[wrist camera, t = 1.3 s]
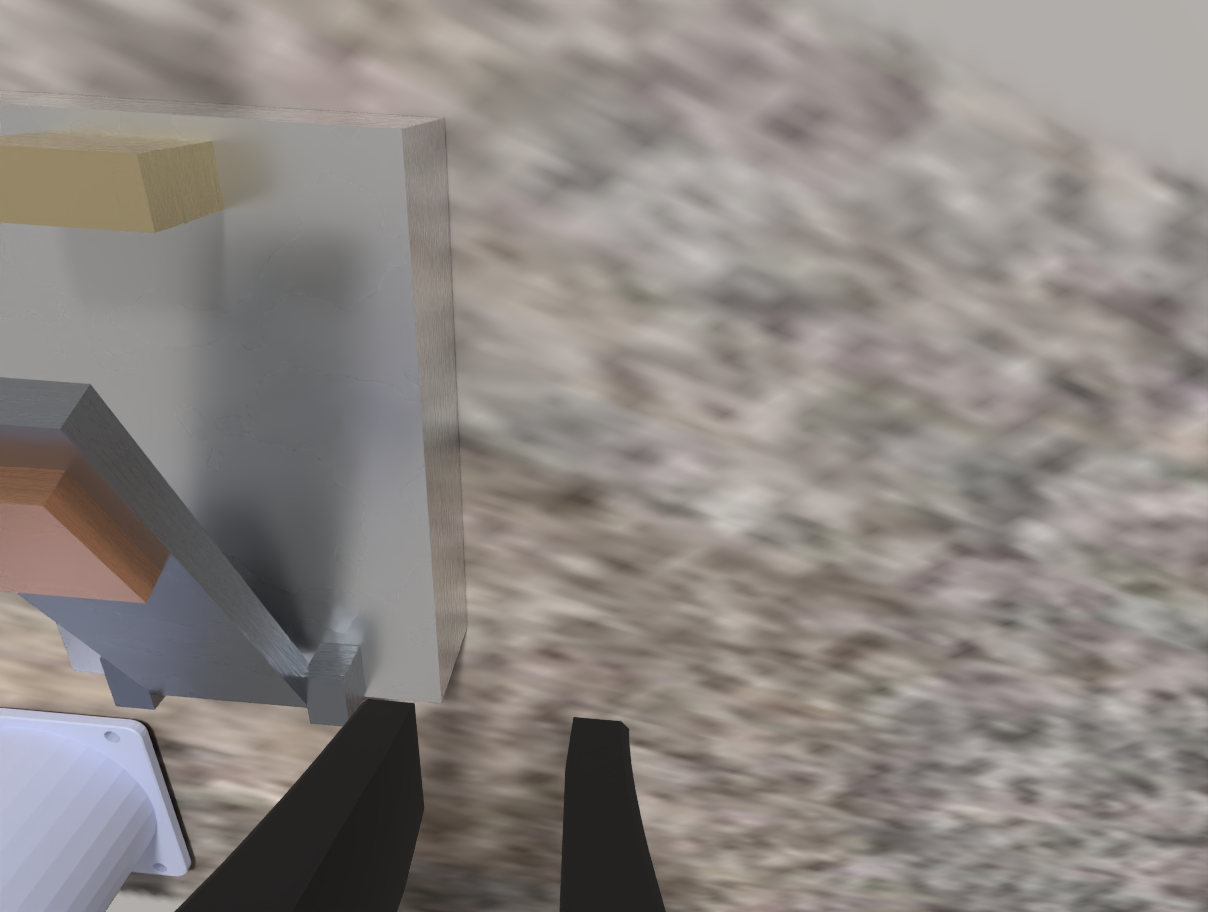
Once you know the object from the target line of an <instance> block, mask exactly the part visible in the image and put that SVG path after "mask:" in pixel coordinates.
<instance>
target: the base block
mask: <svg viewBox="0 0 1208 912" xmlns="http://www.w3.org/2000/svg"><path fill="white" fill-rule="evenodd" d="M0 377H5V378H18V379H31V380H45V381H58V382H71V383H85V384H91V385H92V387H93V388H94V389H95V390H96V392H97V393H98V394H99V396H100V397H101V398H102V399H103V401H104V402H105V403H106V404H107V406H108V407H109V408H110V410H111V411H112V412H113V413H114V415H115V416H116V417H117V419H118V420H119V421H120V422H121V424H122V425H123V426H124V428H125V429H126V430H127V431H128V433H129V434H130V435H131V436H132V438H133V439H134V440H135V442H136V443H137V444H138V445H139V447H140V448H141V449H142V451H143V452H144V453H145V454H146V456H147V457H148V458H149V459H150V461H151V462H152V463H153V465H154V466H155V467H156V468H157V470H158V471H159V472H160V474H161V475H162V476H163V477H164V479H165V480H166V481H167V483H168V484H169V485H170V486H171V488H172V489H173V490H174V491H175V493H176V494H177V495H178V497H179V498H180V499H181V500H182V502H183V503H184V504H185V506H186V507H187V508H188V509H189V511H190V512H191V513H192V515H193V516H194V517H195V518H196V520H197V521H198V522H199V523H200V525H201V526H202V527H203V529H204V530H205V531H206V532H207V534H208V535H209V536H210V538H211V539H212V540H213V541H214V543H215V544H216V545H217V546H218V548H219V549H220V550H221V552H222V553H223V554H224V555H225V557H226V558H227V559H228V561H229V562H230V563H231V564H232V566H233V567H234V568H235V570H236V571H237V572H238V573H239V575H240V576H241V577H242V578H243V580H244V581H245V582H246V584H247V585H248V586H249V587H250V589H251V590H252V591H253V593H254V594H255V595H256V596H257V598H258V599H259V600H260V602H261V603H262V604H263V605H264V607H265V608H266V609H267V610H268V612H269V613H270V614H271V616H272V617H273V618H274V619H275V621H276V622H277V623H278V625H279V626H280V627H281V628H282V630H283V631H284V632H285V633H286V635H287V636H288V637H289V639H290V640H291V641H292V642H293V644H294V645H295V646H296V648H297V649H298V650H299V651H300V653H301V654H302V655H303V657H304V658H305V659H306V660H307V662H308V663H309V664H308V666H307V668H306V669H305V671H304V673H303V675H302V681H303V686H304V692H305V697H306V702H307V708H308V713H309V718H310V723H311V724H322V725H333V726H344V725H345V723H346V722H347V721H348V720H349V718H350V717H351V716H352V715H353V713H354V712H355V711H356V710H357V709H358V707H359V706H360V704H361V702H362V699H363V697H375V698H386V699H398V700H409V701H421V702H432V703H442V700H443V697H444V694H445V691H446V688H447V685H448V682H449V679H450V677H451V674H452V671H453V668H454V665H455V662H456V659H457V656H458V653H459V650H460V647H461V644H462V641H463V638H464V635H465V632H466V629H467V615H466V592H465V570H464V547H463V524H462V502H461V479H460V456H459V434H458V411H457V388H456V366H455V343H454V320H453V298H452V275H451V252H450V230H449V207H448V184H447V162H446V139H445V118H436V117H420V116H404V115H388V114H372V113H356V112H340V111H324V110H308V109H292V108H276V107H260V106H244V105H227V104H211V103H195V102H179V101H163V100H147V99H131V98H115V97H99V96H83V95H67V94H51V93H35V92H19V91H3V90H0ZM56 624H57V627H58V630H59V632H60V635H61V638H62V640H63V643H64V645H65V648H66V651H67V653H68V656H69V659H70V661H71V664H72V667H73V669H74V671H78V672H90V673H101V674H105V676H106V679H107V682H108V685H109V688H110V690H111V693H112V696H113V699H114V702H115V705H116V706H119V707H131V708H142V709H153V710H155V709H156V707H157V706H158V705H159V703H160V702H161V701H162V700H163V698H164V697H165V696H166V695H157V694H151V693H150V692H149V691H147V690H146V689H145V688H143V687H142V686H141V685H139V684H138V683H137V682H135V681H134V680H133V679H131V678H130V677H129V676H127V675H126V674H125V673H123V672H122V671H121V670H119V669H118V668H117V667H115V666H114V665H113V664H111V663H110V662H109V661H107V660H106V659H105V658H103V657H102V656H101V655H99V654H98V653H96V652H95V651H94V650H92V649H91V648H90V647H88V646H87V645H86V644H84V643H83V642H82V641H80V640H79V639H78V638H76V637H75V636H74V635H72V634H71V633H70V632H68V631H67V630H66V629H64V628H63V627H62V626H60V625H59V624H58V623H56Z"/></svg>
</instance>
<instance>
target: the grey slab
mask: <svg viewBox="0 0 1208 912" xmlns="http://www.w3.org/2000/svg"><path fill="white" fill-rule="evenodd" d="M0 591H4V592H16V593H17V594H19V595H20V596H21V597H23V598H24V599H25V600H27V601H28V602H29V603H31V604H32V605H33V606H35V607H36V608H37V609H39V610H40V611H41V612H43V613H44V614H46V615H47V616H48V617H50V618H51V619H52V620H54V621H55V622H56V623H58V624H59V625H60V626H62V627H63V628H64V629H66V630H67V631H68V632H70V633H71V634H72V635H74V636H75V637H76V638H78V639H79V640H80V641H82V642H83V643H84V644H86V645H87V646H88V647H90V648H91V649H92V650H94V651H95V652H96V653H98V654H99V655H101V656H102V657H103V658H105V659H106V660H107V661H109V662H110V663H111V664H113V665H114V666H115V667H117V668H118V669H119V670H121V671H122V672H123V673H125V674H126V675H127V676H129V677H130V678H131V679H133V680H134V681H135V682H137V683H138V684H139V685H141V686H142V687H143V688H145V689H146V690H147V691H149V692H150V693H151V694H157V695H169V696H180V697H191V698H203V699H214V700H225V701H237V702H248V703H259V704H271V705H282V706H293V707H305V708H307V702H306V697H305V692H304V686H303V681H302V675H303V673H304V671H305V669H306V668H307V666H308V664H309V663H308V662H307V660H306V659H305V658H304V657H303V655H302V654H301V653H300V651H299V650H298V649H297V648H296V646H295V645H294V644H293V642H292V641H291V640H290V639H289V637H288V636H287V635H286V633H285V632H284V631H283V630H282V628H281V627H280V626H279V625H278V623H277V622H276V621H275V619H274V618H273V617H272V616H271V614H270V613H269V612H268V610H267V609H266V608H265V607H264V605H263V604H262V603H261V602H260V600H259V599H258V598H257V596H256V595H255V594H254V593H253V591H252V590H251V589H250V587H249V586H248V585H247V584H246V582H245V581H244V580H243V578H242V577H241V576H240V575H239V573H238V572H237V571H236V570H235V568H234V567H233V566H232V564H231V563H230V562H229V561H228V559H227V558H226V557H225V555H224V554H223V553H222V552H221V550H220V549H219V548H218V546H217V545H216V544H215V543H214V541H213V540H212V539H211V538H210V536H209V535H208V534H207V532H206V531H205V530H204V529H203V527H202V526H201V525H200V523H199V522H198V521H197V520H196V518H195V517H194V516H193V515H192V513H191V512H190V511H189V509H188V508H187V507H186V506H185V504H184V503H183V502H182V500H181V499H180V498H179V497H178V495H177V494H176V493H175V491H174V490H173V489H172V488H171V486H170V485H169V484H168V483H167V481H166V480H165V479H164V477H163V476H162V475H161V474H160V472H159V471H158V470H157V468H156V467H155V466H154V465H153V463H152V462H151V461H150V459H149V458H148V457H147V456H146V454H145V453H144V452H143V451H142V449H141V448H140V447H139V445H138V444H137V443H136V442H135V440H134V439H133V438H132V436H131V435H130V434H129V433H128V431H127V430H126V429H125V428H124V426H123V425H122V424H121V422H120V421H119V420H118V419H117V417H116V416H115V415H114V413H113V412H112V411H111V410H110V408H109V407H108V406H107V404H106V403H105V402H104V401H103V399H102V398H101V397H100V396H99V394H98V393H97V392H96V390H95V389H94V388H93V387H92V385H91V384H85V383H71V382H58V381H45V380H31V379H18V378H5V377H0Z"/></svg>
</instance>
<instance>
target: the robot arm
mask: <svg viewBox="0 0 1208 912" xmlns="http://www.w3.org/2000/svg"><path fill="white" fill-rule="evenodd" d="M423 811H424V801H423V790H422V779H421V768H420V757H419V747H418V736H417V725H416V714H415V703H407V702H395V701H384V700H372V699H368V700H366V701H365V702H364V703H362V704H361V705H360V706H359V707H358V709H357V710H356V711H355V712H354V713H353V715H352V716H351V717H350V718H349V720H348V721H347V722H346V723H345V725H344V726H343V727H342V728H341V729H340V731H339V732H338V733H337V734H336V736H335V737H334V738H333V739H332V740H331V742H330V743H329V744H328V745H327V746H326V748H325V749H324V750H323V751H322V752H321V754H320V755H319V756H318V757H317V758H316V759H315V761H314V762H313V763H312V764H311V765H310V766H309V768H308V769H307V770H306V771H305V772H304V773H303V775H302V776H301V777H300V778H299V779H298V780H297V782H296V783H295V784H294V785H293V786H292V787H291V788H290V790H289V791H288V792H287V793H286V794H285V795H284V796H283V798H282V799H281V800H280V801H279V802H278V803H277V804H276V805H275V806H274V807H273V809H272V810H271V811H270V812H269V813H268V814H267V815H266V816H265V817H264V818H263V820H262V821H261V822H260V823H259V824H258V825H257V826H256V827H255V828H254V829H253V831H252V832H251V833H250V834H249V835H248V836H247V837H246V838H245V839H244V840H243V842H242V843H241V844H240V845H239V846H238V847H237V848H236V849H235V850H234V851H233V852H232V853H231V855H230V856H229V857H228V858H227V859H226V860H225V861H224V862H223V863H222V864H221V865H220V866H219V867H218V868H217V869H216V870H215V871H214V872H213V873H212V874H211V875H210V876H209V877H208V878H207V879H206V880H205V881H204V882H203V883H202V884H201V885H200V886H199V887H198V888H197V889H196V890H195V891H194V892H193V893H192V894H191V895H190V896H189V897H188V898H187V900H186V901H185V902H184V903H183V904H182V905H181V906H180V907H179V908H178V909H177V910H176V911H175V912H397V910H398V907H399V904H400V901H401V898H402V895H403V892H404V889H405V885H406V881H407V877H408V873H409V869H410V865H411V861H412V857H413V853H414V849H415V845H416V841H417V836H418V832H419V828H420V824H421V820H422V815H423ZM190 865H191V859H190V856H189V853H188V850H187V847H186V844H185V841H184V838H183V835H182V832H181V829H180V826H179V823H178V820H177V817H176V814H175V811H174V808H173V805H172V802H171V799H170V796H169V793H168V790H167V787H166V784H165V781H164V778H163V775H162V772H161V769H160V766H159V763H158V760H157V757H156V754H155V751H154V748H153V745H152V742H151V739H150V736H149V733H148V731H147V729H146V727H145V726H144V725H143V724H142V723H140V722H138V721H136V720H131V719H121V718H109V717H98V716H87V715H76V714H65V713H54V712H42V711H31V710H20V709H9V708H0V912H105V911H106V910H107V908H108V907H109V905H110V904H111V902H112V901H113V899H114V898H115V896H116V895H117V893H118V892H119V890H120V888H121V887H122V885H123V884H124V882H125V881H126V879H127V878H128V876H129V875H130V873H131V872H137V873H148V874H158V875H169V876H182V875H184V874H185V873H186V872H187V871H188V869H189V867H190ZM560 912H666V911H665V907H664V904H663V900H662V897H661V893H660V889H659V886H658V882H657V879H656V875H655V871H654V868H653V864H652V860H651V857H650V853H649V849H648V845H647V841H646V837H645V833H644V829H643V824H642V820H641V815H640V810H639V805H638V800H637V795H636V790H635V784H634V778H633V772H632V765H631V756H630V746H629V728H628V727H626V726H625V725H624V724H623V723H622V722H621V721H612V720H600V719H589V718H577V717H574V718H573V724H572V730H571V737H570V743H569V749H568V756H567V763H566V769H565V792H564V817H563V841H562V866H561V890H560Z"/></svg>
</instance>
